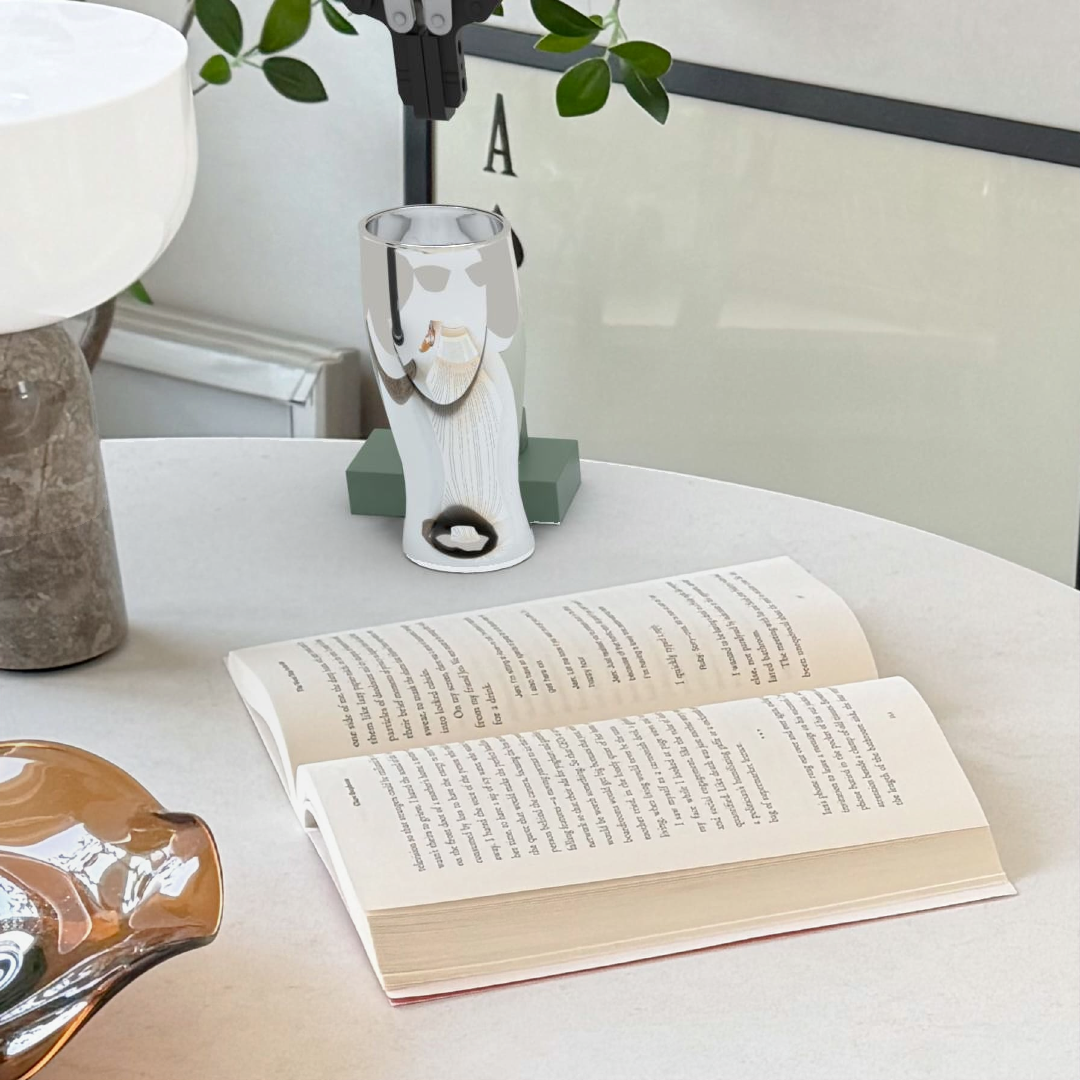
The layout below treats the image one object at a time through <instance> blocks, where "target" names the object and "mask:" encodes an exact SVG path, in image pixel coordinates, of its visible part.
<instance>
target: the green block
mask: <svg viewBox="0 0 1080 1080" xmlns="http://www.w3.org/2000/svg"><path fill="white" fill-rule="evenodd" d="M528 435H529V434H528V424H527V413H526V408H525V406H523V411H522V422H521V433H520V449H519V462H520V463H519V471H520V482H521V490H522V494H523V499H524V503H525V507H526V510H527V514H528V517H529V521H530V522H534V521H539V522H554V523H558V522H561V521H562V522H563V520H564V519H565V516H566V515H567V512H568V509H569V508H570V506H571V503H572V501H573V499H574V498H575V495H576V494H577V491H578V489H579V488H580V485H581V483H582V474H581V463H580V462H581V461H580V449H579V441H578V439H573V438H571V439H569V438H554V437H553V438H552V437H536V436H535V437H533V436H528ZM344 472H345V478H346V486H347V493H348V501H349V509H350V514H351V515H357V516H377V517H392V516H405V490H404V479H403V473H402V468H401V462H400V458H399V454H398V451H397V447H396V444H395V440H394V437H393V433H392V430H391V428H373V430H372V431H371V432H370V434H369V436H368V437H367V438H366V440H365V442H364V443H363V444H362V446H361V447H360V448H359V450H358V452H357V454H356V455H355V456H354V457H353V459H352V461H351V462H350V463H349V465H348V466H347V468H346V469H345V471H344ZM564 515H565V516H564ZM562 519H563V520H562ZM562 522H561V523H562Z"/></svg>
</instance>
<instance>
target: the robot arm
mask: <svg viewBox="0 0 1080 1080" xmlns="http://www.w3.org/2000/svg"><path fill="white" fill-rule="evenodd" d="M503 1H504V0H340V2H341V3H342V4H343V5H344V6H345V7H346V9H347V10H348V11H349V12H350V13H352V14H354V15H357V16H363V15H365V16H367V17H369V18H372V19H374V20H376V21H378V22H380V23H382V24H383V25H384V26H385V27H386V28H387V30H388V31H389V33H390V36H391V44H392V52H393V61H394V68H395V77H396V87H397V93H398V96H399V98H400V100H401V101H402V104H403V106H411V107H413V115H414V118H415V119H416V120H423V121H439V122H440V121H441V122H450V120H451V119H452V118H453V117H454V116H455V115H456V110H457V109H459V108H460V106H462V104H463V103H464V102H465V100H466V98H467V97H466V96H467V95H468V94H467V93H468V89H469V87H468V80H467V69H466V59H465V51H464V39H463V28H464V27H465V26H467V25H470V24H474V23H478V24H481V23H484V22H486V21H488V19H489V18H490V17H491V16H492V15H493V13H494V12H495V11H496V10H497V9H498V8H499V7H500V5H501V4H502V3H503Z"/></svg>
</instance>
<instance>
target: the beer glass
mask: <svg viewBox="0 0 1080 1080" xmlns="http://www.w3.org/2000/svg"><path fill="white" fill-rule="evenodd" d="M357 230H358V238H359V239H358V240H359V241H358V242H359V265H360V266H359V268H360V286H361V289H360V290H361V300H362V311H363V321H364V329H365V334H366V340H367V346H368V347H367V348H368V352H369V356H370V360H371V364H372V368H373V373H374V377H375V381H376V384H377V387H378V391H379V394H380V397H381V401H382V404H383V408H384V411H385V414H386V417H387V421H388V425H389V427H390V429H391V430H392V433H393V437H394V440H395V444H396V447H397V451H398V454H399V458H400V462H401V468H402V473H403V479H404V490H405V516H404V517H403V518H404V519H403V532H402V551H403V554H404V553H406V555H408V556H409V557H410V558H413V559H415V560H420V561H422V562H427V563H431V564H436V565H442V566H451V567H479V566H489V565H495V564H500V563H504V562H508V561H511V560H514V559H517V558H519V557H521V556H523V555H525V554H526V553H528V552H529V551H530V550H531V549H532V548H533V547H534V544H535V545H536V540H535V535H534V532H533V528H532V524H530V521H529V517H528V514H527V510H526V507H525V503H524V499H523V494H522V490H521V482H520V471H519V463H520V462H519V449H520V433H521V422H522V411H523V407H524V396H525V385H526V384H525V383H526V361H527V343H526V326H525V314H524V305H523V297H522V289H521V284H520V283H521V282H520V277H519V271H518V265H517V259H516V254H515V249H514V243H513V237H512V225H511V223H510V222H509V220H508V219H507V218H505V217H504V216H502V215H500V214H499V213H497V212H493V211H491V210H487V209H483V208H479V207H474V206H468V205H458V204H446V203H445V204H444V203H442V204H441V203H424V204H423V203H421V204H409V205H400V206H393V207H388V208H384V209H380V210H377V211H374V212H371V213H369V214H367V215H365V216H363V217H362V218H361V219H360V220H359V221H358V224H357Z"/></svg>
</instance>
